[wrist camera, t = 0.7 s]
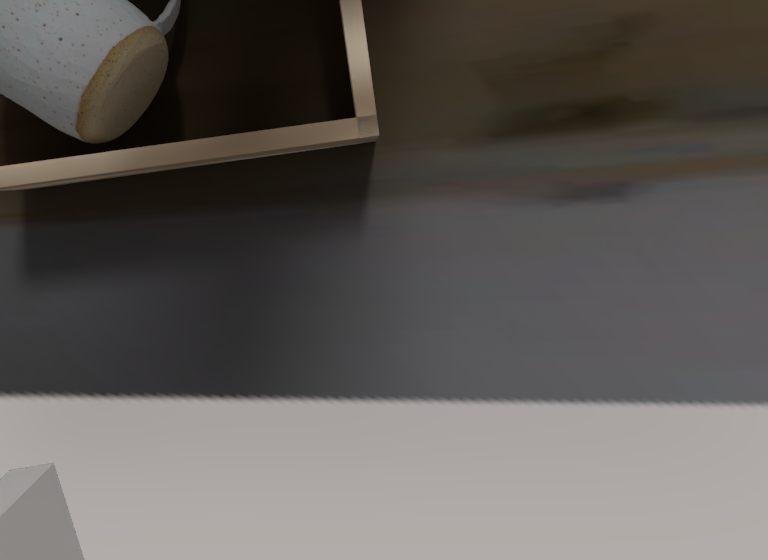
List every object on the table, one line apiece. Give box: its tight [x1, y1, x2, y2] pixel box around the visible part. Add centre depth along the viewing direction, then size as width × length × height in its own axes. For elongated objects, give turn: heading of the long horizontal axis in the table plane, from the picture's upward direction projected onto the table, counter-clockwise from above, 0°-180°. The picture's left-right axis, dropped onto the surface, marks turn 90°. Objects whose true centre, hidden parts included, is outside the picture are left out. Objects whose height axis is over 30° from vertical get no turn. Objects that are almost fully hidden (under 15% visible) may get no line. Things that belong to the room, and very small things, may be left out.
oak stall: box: [0, 0, 379, 191], centre depth 28 cm, size 15×20×5 cm
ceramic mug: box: [0, 0, 181, 144], centre depth 27 cm, size 11×8×8 cm
